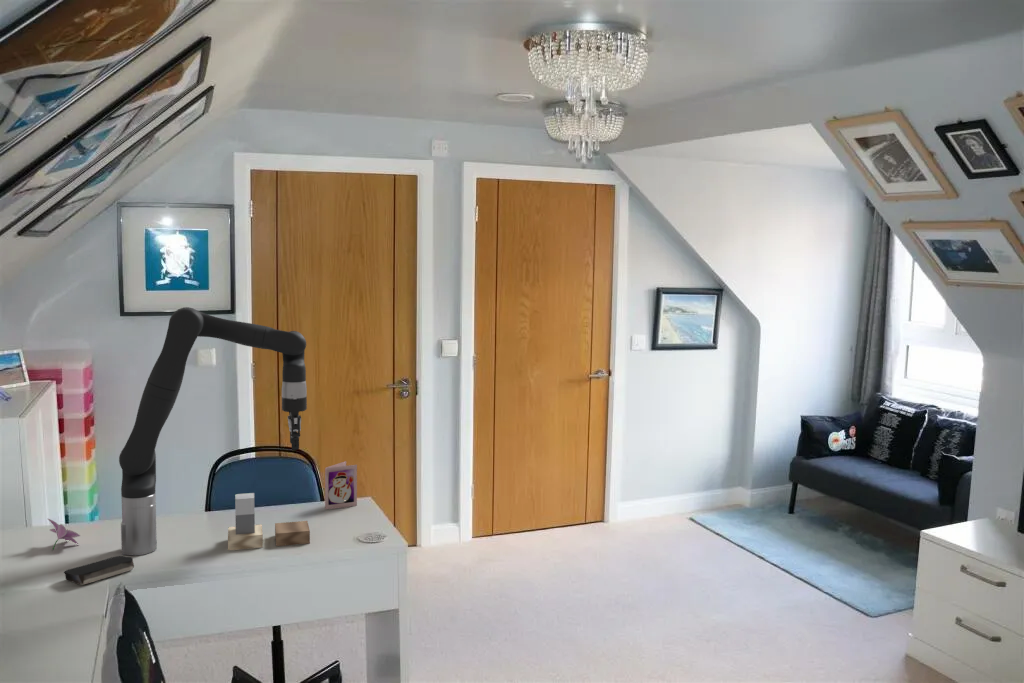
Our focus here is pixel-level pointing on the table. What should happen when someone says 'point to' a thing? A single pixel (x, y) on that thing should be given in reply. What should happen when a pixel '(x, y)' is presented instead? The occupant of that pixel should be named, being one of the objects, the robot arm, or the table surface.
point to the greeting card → (340, 486)
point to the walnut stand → (292, 533)
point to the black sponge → (99, 570)
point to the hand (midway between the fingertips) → (294, 446)
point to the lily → (63, 532)
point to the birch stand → (245, 539)
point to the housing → (245, 513)
